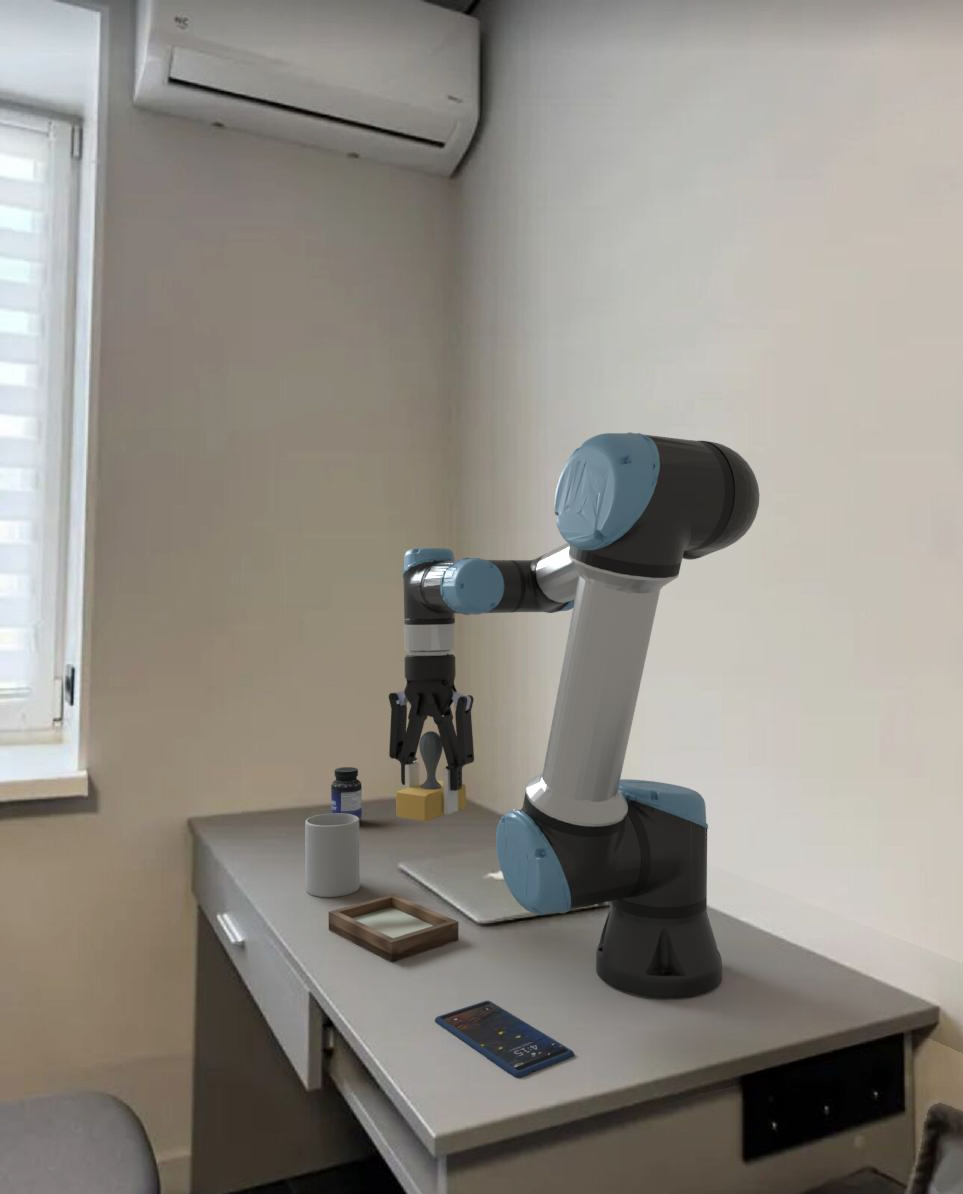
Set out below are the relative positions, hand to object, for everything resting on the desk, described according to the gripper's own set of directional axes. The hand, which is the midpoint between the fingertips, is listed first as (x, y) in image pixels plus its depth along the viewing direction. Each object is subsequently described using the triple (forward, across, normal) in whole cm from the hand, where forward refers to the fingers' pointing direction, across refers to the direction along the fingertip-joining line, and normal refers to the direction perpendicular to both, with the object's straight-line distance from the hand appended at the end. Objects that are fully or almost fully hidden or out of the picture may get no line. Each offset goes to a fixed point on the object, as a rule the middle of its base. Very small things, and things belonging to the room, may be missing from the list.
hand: (431, 809), depth 136 cm
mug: (+15, +20, -1) cm, 25 cm away
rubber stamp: (+1, 0, 0) cm, 1 cm away
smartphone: (+16, -28, +29) cm, 43 cm away
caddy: (+15, -1, +11) cm, 19 cm away
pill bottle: (+14, +43, -33) cm, 56 cm away
